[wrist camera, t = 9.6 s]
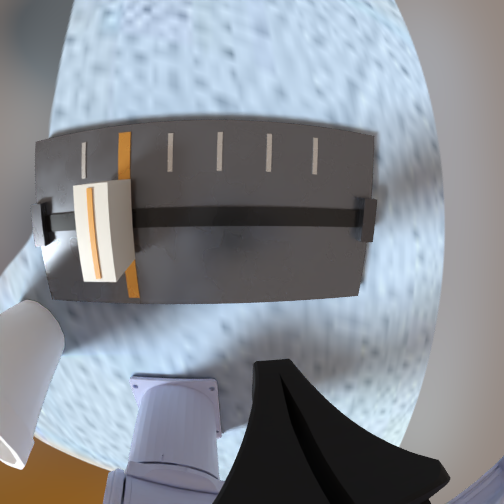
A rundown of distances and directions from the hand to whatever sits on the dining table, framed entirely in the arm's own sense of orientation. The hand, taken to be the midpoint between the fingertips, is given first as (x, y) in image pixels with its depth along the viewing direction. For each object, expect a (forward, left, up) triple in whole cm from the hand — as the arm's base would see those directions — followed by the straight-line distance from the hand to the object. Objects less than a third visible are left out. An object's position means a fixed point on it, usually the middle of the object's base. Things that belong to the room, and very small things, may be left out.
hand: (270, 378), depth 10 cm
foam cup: (-5, +19, -11) cm, 23 cm away
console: (+5, +3, -10) cm, 12 cm away
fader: (+5, +8, -9) cm, 13 cm away
